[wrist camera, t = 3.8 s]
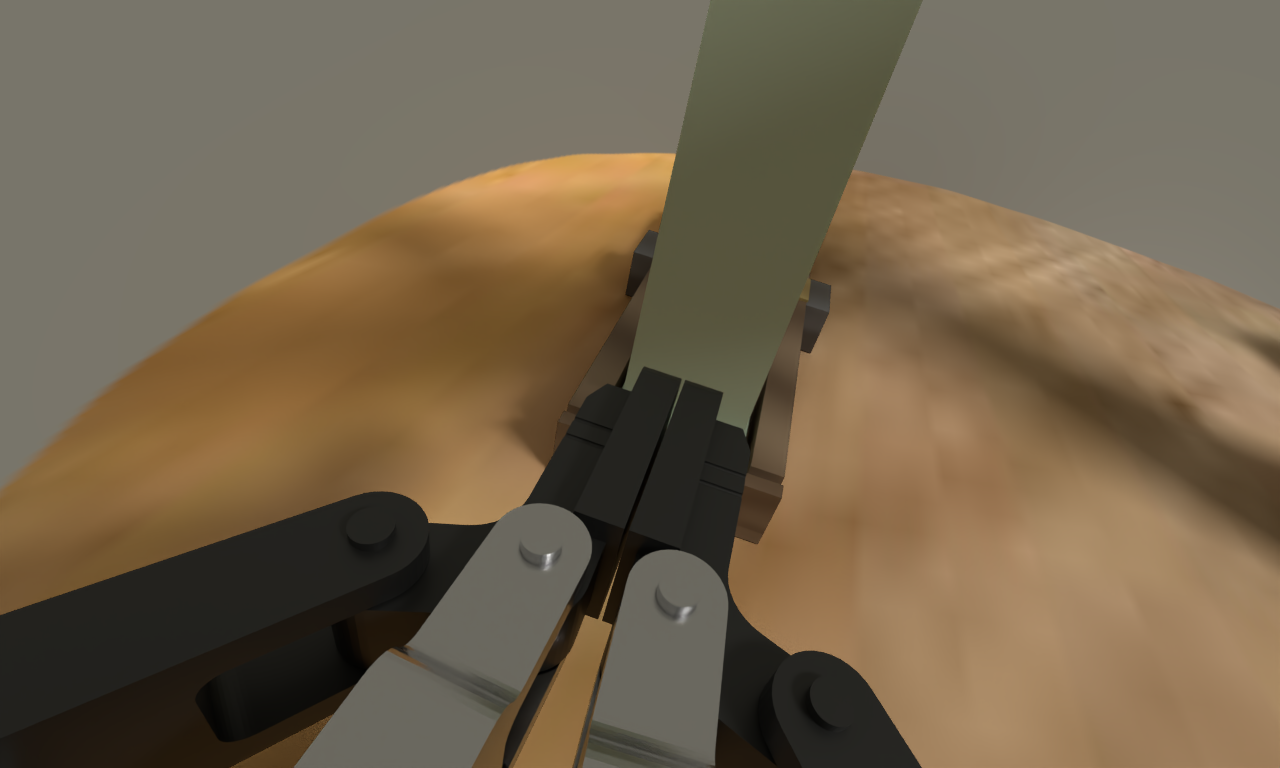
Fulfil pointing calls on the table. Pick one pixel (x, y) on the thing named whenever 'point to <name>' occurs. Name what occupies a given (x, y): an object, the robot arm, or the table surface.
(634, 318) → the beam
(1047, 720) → the table surface
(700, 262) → the block
